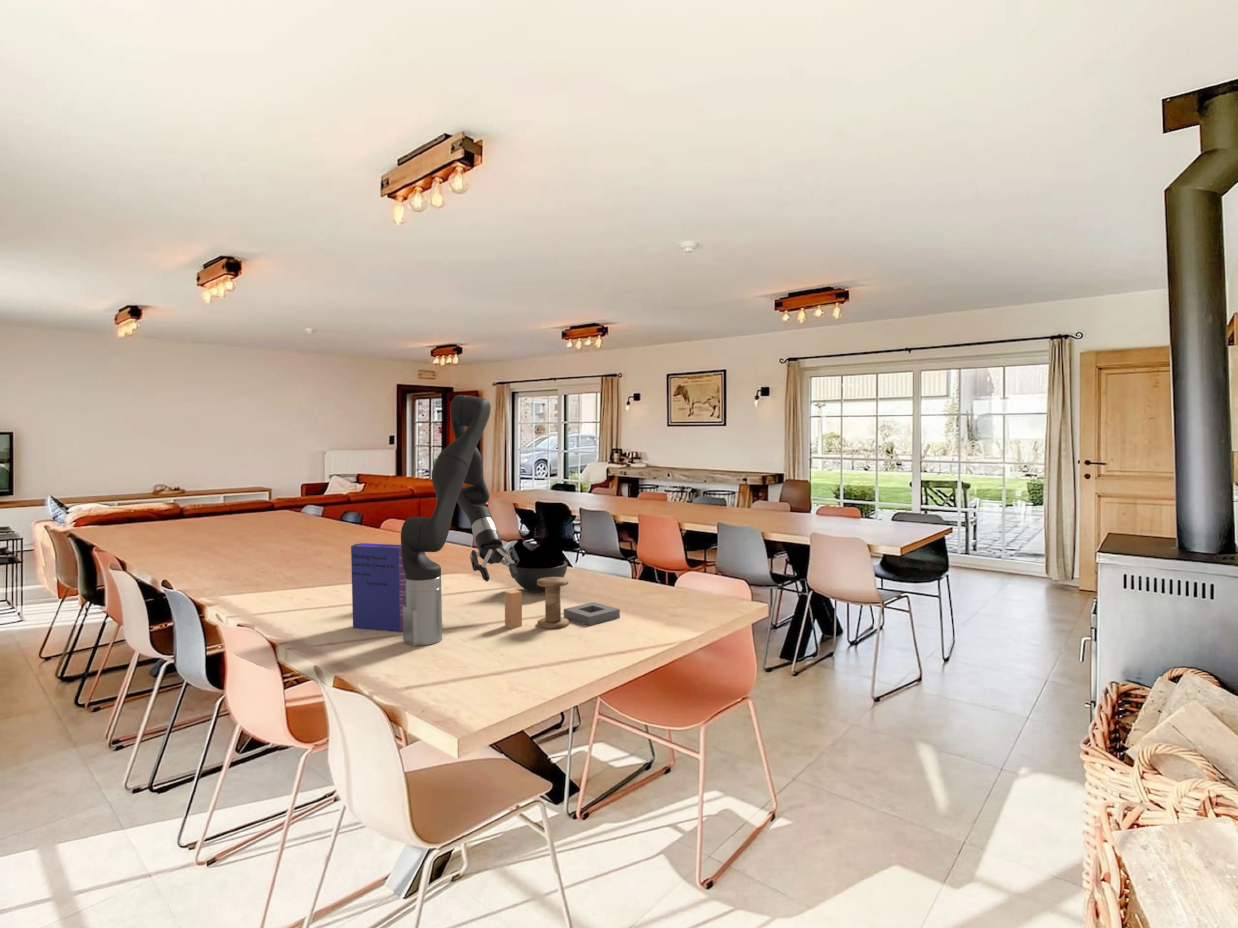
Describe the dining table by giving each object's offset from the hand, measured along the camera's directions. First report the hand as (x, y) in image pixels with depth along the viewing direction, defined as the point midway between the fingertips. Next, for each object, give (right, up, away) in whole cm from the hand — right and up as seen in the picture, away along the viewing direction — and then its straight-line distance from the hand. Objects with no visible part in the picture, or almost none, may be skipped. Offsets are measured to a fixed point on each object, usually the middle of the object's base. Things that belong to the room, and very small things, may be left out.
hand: (501, 578), depth 194 cm
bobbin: (+16, -12, -6) cm, 21 cm away
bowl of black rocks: (+7, -11, +35) cm, 37 cm away
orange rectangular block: (+5, -13, -7) cm, 15 cm away
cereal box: (-32, -13, -8) cm, 36 cm away
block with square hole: (+27, -12, +2) cm, 30 cm away
